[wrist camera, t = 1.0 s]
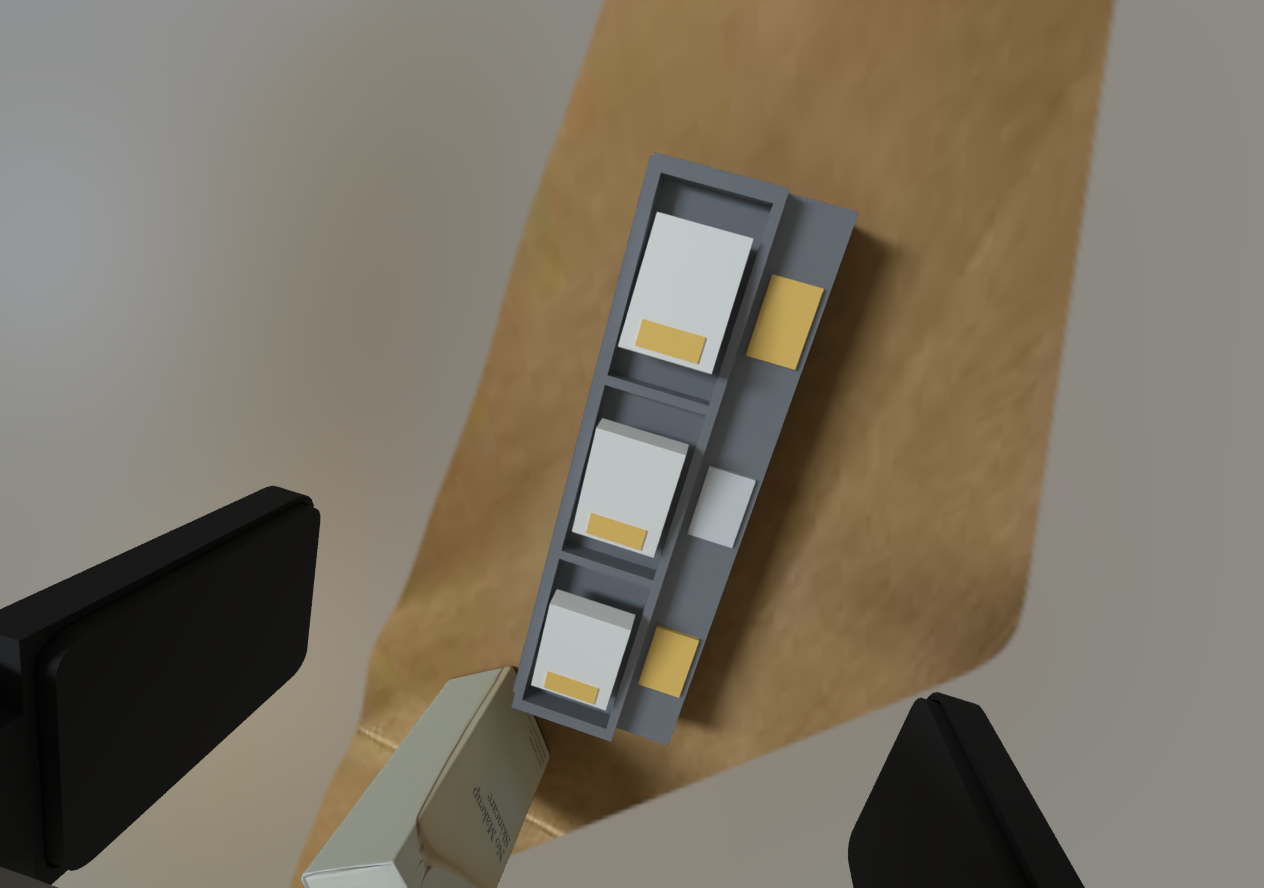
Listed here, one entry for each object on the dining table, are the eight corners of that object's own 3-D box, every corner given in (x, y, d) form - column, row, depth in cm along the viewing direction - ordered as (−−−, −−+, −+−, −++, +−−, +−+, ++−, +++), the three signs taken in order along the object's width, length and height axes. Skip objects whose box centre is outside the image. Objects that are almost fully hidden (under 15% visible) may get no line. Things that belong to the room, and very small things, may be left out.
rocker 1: (658, 219, 23) (656, 211, 22) (750, 245, 23) (753, 238, 22) (621, 347, 24) (617, 346, 23) (711, 374, 23) (711, 373, 22)
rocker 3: (557, 588, 27) (549, 604, 26) (635, 614, 26) (630, 631, 26) (538, 668, 29) (530, 686, 28) (610, 693, 29) (605, 711, 28)
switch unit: (658, 169, 26) (646, 149, 22) (844, 220, 25) (864, 208, 21) (531, 656, 33) (505, 705, 29) (673, 704, 32) (666, 761, 29)
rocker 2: (602, 418, 24) (595, 428, 23) (688, 444, 24) (685, 456, 23) (578, 519, 27) (571, 532, 26) (657, 544, 26) (653, 558, 25)
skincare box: (553, 755, 34) (464, 996, 23) (484, 768, 35) (365, 1006, 24) (511, 659, 33) (395, 863, 22) (441, 676, 34) (294, 879, 23)
